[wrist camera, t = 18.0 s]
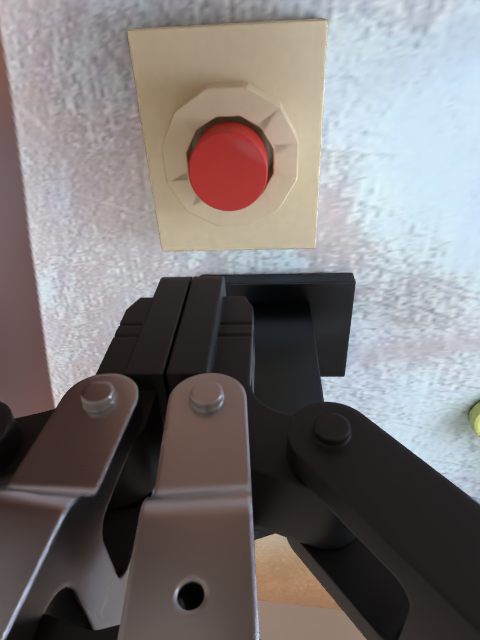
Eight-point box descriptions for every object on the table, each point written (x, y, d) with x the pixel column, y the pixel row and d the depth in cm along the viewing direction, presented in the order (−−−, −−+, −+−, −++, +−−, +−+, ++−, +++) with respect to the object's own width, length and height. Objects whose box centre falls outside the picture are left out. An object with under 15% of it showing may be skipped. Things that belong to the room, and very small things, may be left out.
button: (190, 122, 21) (183, 132, 19) (267, 119, 21) (267, 129, 19) (197, 197, 23) (192, 213, 21) (268, 196, 23) (268, 211, 21)
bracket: (352, 272, 29) (407, 442, 18) (342, 366, 34) (380, 548, 22) (200, 274, 30) (158, 440, 18) (210, 366, 34) (182, 543, 23)
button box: (137, 28, 22) (114, 31, 19) (323, 18, 21) (333, 19, 18) (168, 236, 28) (155, 266, 25) (312, 233, 28) (318, 263, 24)
